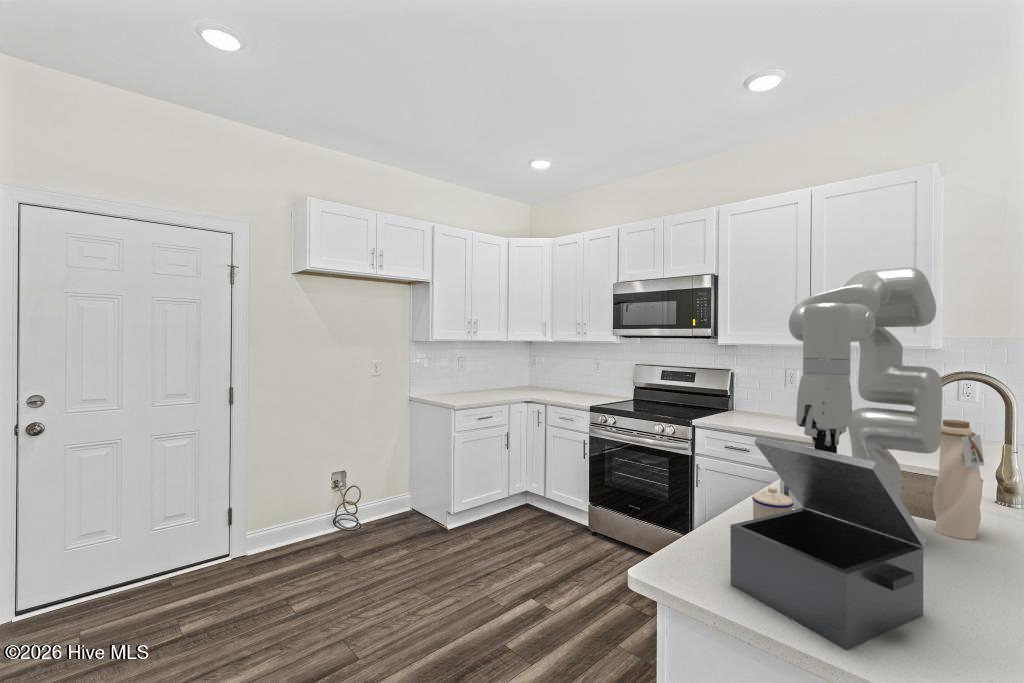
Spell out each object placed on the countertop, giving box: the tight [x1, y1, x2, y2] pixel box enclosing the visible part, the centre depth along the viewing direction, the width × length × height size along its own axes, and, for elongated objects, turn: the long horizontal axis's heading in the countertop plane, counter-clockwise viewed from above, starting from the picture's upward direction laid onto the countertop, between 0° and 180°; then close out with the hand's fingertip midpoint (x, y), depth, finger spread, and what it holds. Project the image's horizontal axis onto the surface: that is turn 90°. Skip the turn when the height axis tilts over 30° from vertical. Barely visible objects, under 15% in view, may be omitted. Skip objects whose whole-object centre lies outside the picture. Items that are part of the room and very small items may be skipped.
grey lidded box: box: [729, 508, 924, 651], centre depth 90 cm, size 22×27×12 cm
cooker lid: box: [753, 436, 928, 548], centre depth 92 cm, size 22×22×4 cm
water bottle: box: [932, 419, 985, 540], centre depth 118 cm, size 10×9×28 cm
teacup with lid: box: [751, 486, 794, 520], centre depth 120 cm, size 12×9×12 cm
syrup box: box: [779, 476, 807, 509], centre depth 138 cm, size 6×6×14 cm
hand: (825, 465), depth 90 cm, fingers closed
